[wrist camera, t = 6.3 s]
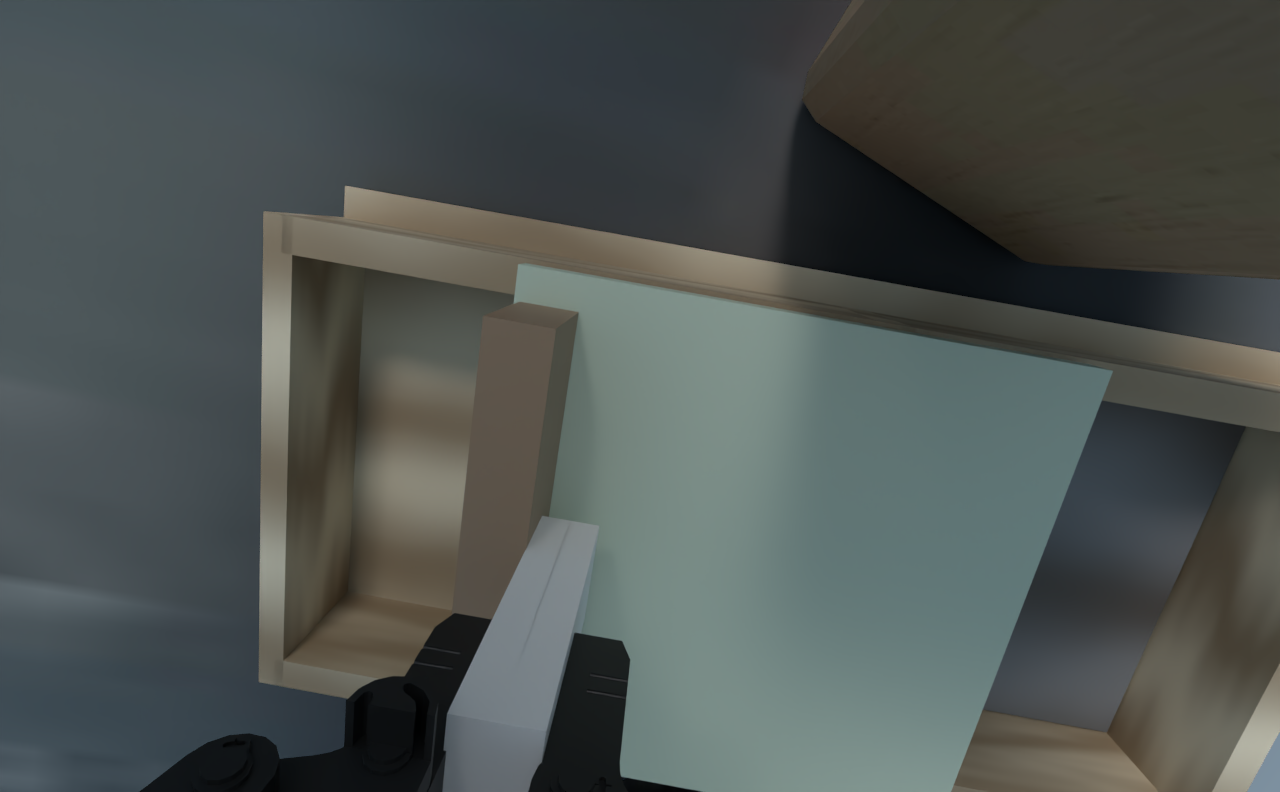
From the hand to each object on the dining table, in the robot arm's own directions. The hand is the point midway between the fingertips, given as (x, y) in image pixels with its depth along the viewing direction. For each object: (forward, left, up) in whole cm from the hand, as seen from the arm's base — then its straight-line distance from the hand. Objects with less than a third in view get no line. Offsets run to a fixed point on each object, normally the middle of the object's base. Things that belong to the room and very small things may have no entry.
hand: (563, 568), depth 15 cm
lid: (0, +5, -2) cm, 5 cm away
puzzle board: (0, +6, -7) cm, 10 cm away
